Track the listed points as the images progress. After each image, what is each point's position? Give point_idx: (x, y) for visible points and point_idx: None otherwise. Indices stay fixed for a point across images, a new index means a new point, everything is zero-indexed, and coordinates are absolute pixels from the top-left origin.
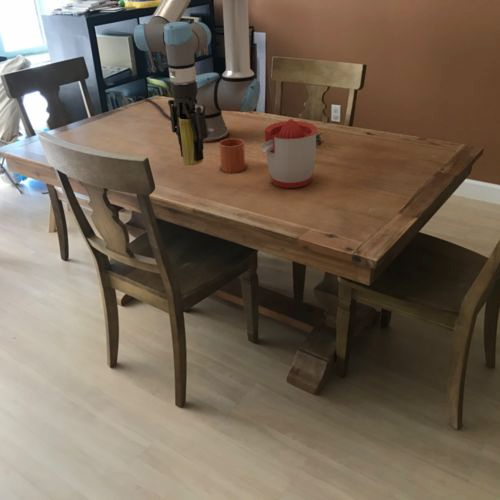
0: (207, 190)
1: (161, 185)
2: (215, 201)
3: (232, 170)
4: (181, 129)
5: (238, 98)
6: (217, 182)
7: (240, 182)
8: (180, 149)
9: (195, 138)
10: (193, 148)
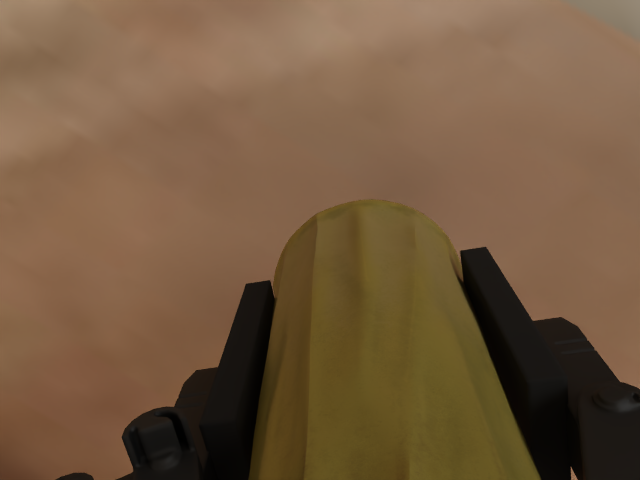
0: (212, 212)
1: (536, 7)
2: (27, 155)
3: None
4: (405, 469)
5: None
6: None
7: None
8: (504, 280)
9: (181, 463)
10: (267, 351)
